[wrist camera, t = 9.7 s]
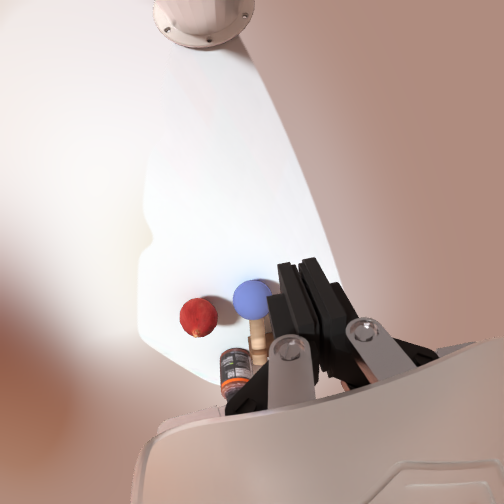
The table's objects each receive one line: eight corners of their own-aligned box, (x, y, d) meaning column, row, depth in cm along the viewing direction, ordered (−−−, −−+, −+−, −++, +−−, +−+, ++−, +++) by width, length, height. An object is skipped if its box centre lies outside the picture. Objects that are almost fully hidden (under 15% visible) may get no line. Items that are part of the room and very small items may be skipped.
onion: (224, 297, 46) (225, 331, 39) (207, 320, 48) (206, 355, 41) (191, 282, 44) (186, 316, 37) (176, 307, 46) (170, 341, 39)
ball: (237, 330, 42) (236, 301, 47) (276, 325, 42) (272, 296, 47) (229, 304, 39) (229, 274, 44) (273, 298, 39) (268, 269, 43)
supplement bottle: (237, 370, 55) (241, 416, 45) (213, 359, 53) (213, 407, 43) (257, 354, 53) (264, 402, 43) (232, 342, 51) (235, 392, 41)
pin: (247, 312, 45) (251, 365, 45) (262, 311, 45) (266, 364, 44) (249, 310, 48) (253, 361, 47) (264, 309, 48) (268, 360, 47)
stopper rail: (247, 336, 51) (249, 353, 47) (296, 327, 51) (301, 342, 47) (249, 344, 52) (251, 360, 48) (297, 334, 52) (302, 350, 48)
